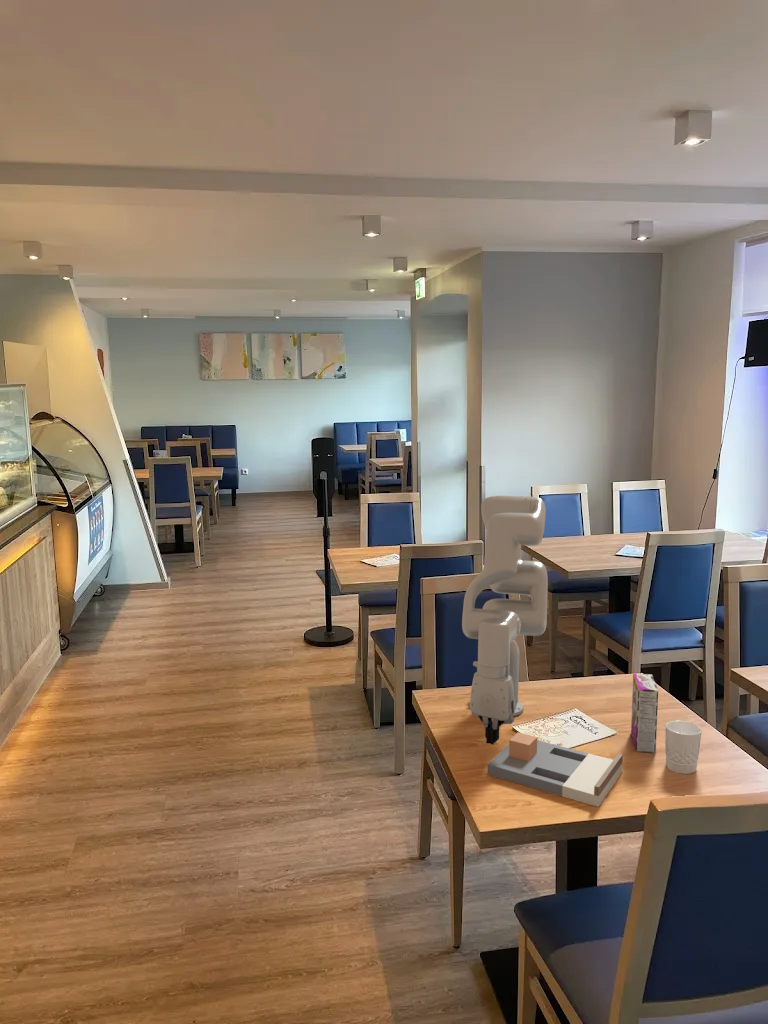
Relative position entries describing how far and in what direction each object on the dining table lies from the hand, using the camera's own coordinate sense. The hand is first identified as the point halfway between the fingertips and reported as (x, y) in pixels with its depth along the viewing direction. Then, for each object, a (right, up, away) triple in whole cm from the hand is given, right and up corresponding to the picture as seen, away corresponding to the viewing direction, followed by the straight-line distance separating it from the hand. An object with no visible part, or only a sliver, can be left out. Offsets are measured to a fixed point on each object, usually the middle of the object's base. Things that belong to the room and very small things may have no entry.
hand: (492, 741), depth 183 cm
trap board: (+13, -5, -8) cm, 16 cm away
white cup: (+44, -5, -5) cm, 45 cm away
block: (+7, -2, -4) cm, 8 cm away
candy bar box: (+39, -3, +7) cm, 40 cm away
